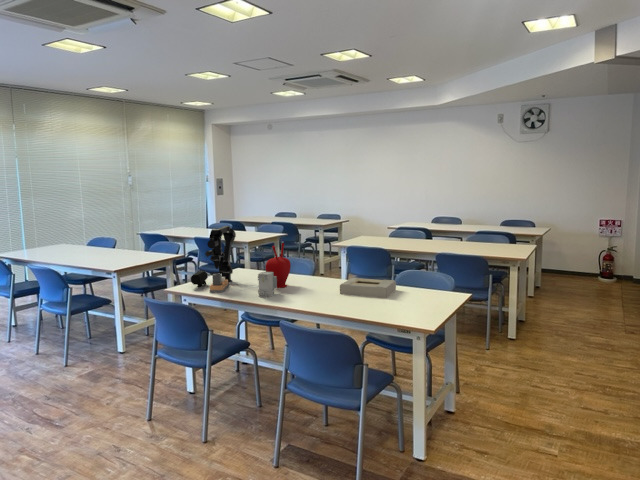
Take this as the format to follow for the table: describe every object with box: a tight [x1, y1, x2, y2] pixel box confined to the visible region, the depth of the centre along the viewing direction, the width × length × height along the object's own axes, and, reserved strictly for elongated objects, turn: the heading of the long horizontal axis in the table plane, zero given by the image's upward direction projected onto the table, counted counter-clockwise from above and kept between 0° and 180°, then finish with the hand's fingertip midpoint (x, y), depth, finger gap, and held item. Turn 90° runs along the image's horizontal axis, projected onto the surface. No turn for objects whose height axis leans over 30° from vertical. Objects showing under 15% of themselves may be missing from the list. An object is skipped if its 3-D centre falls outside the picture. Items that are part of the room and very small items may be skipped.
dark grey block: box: [212, 273, 222, 286], centre depth 317 cm, size 5×5×10 cm
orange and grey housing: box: [209, 277, 230, 294], centre depth 323 cm, size 21×9×7 cm, turn 0°
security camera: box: [190, 270, 209, 288], centre depth 333 cm, size 7×18×10 cm, turn 174°
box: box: [339, 277, 397, 299], centre depth 307 cm, size 23×8×32 cm
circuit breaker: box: [257, 271, 278, 298], centre depth 304 cm, size 8×14×15 cm, turn 161°
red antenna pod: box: [264, 242, 292, 289], centre depth 326 cm, size 21×13×30 cm, turn 160°
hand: (218, 267), depth 332 cm, fingers open, 9 cm apart
